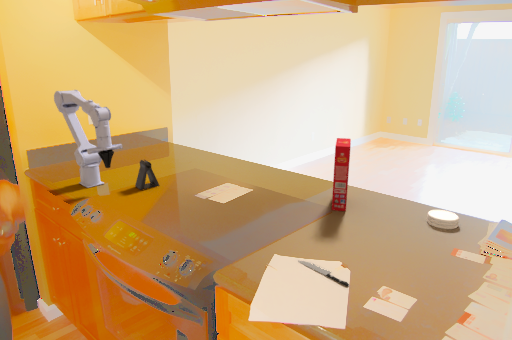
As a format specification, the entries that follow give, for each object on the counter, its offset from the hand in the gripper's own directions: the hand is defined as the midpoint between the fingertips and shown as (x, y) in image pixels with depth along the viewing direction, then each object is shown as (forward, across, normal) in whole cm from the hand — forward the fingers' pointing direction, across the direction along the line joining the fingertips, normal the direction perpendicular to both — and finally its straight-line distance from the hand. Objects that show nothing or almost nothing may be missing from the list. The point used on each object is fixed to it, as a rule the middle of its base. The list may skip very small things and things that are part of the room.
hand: (107, 167), depth 162 cm
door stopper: (+11, +14, -6) cm, 19 cm away
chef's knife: (+15, +12, -103) cm, 105 cm away
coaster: (+15, +67, -115) cm, 134 cm away
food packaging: (+14, +57, -80) cm, 99 cm away
